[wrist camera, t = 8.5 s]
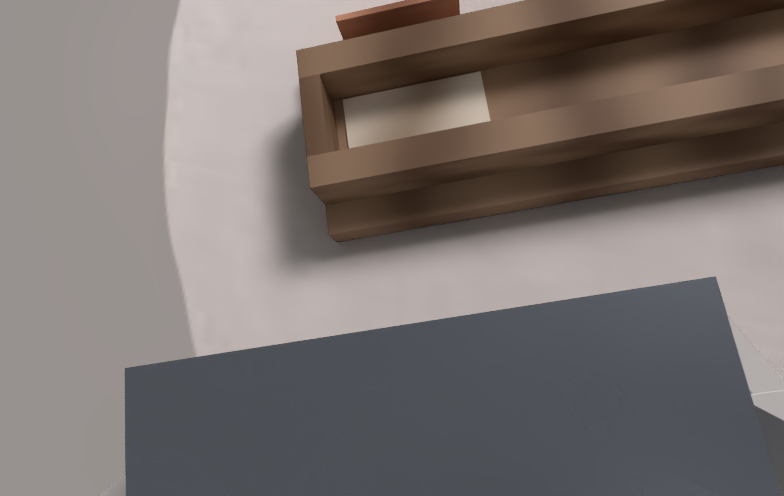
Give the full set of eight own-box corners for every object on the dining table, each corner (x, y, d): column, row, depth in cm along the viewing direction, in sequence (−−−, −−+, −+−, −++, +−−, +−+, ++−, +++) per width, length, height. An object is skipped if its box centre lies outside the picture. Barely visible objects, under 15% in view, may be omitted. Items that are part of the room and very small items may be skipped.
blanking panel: (564, 337, 14) (715, 277, 5) (586, 440, 13) (806, 576, 4) (340, 371, 14) (124, 368, 6) (350, 469, 14) (126, 635, 5)
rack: (818, -43, 26) (877, -115, 22) (895, 145, 24) (977, 100, 20) (316, 65, 29) (292, 18, 25) (336, 242, 27) (313, 219, 23)
